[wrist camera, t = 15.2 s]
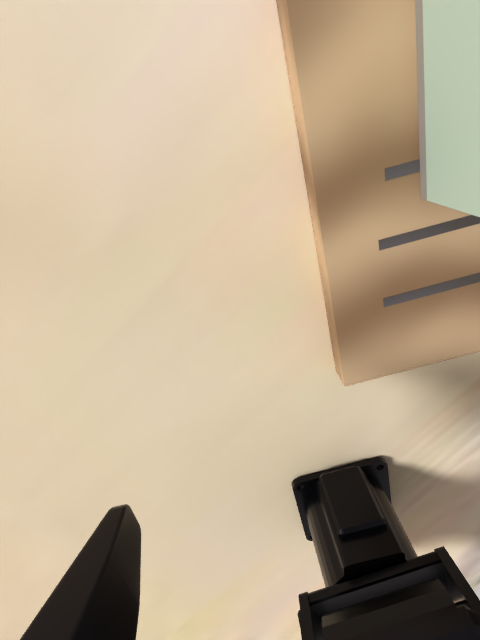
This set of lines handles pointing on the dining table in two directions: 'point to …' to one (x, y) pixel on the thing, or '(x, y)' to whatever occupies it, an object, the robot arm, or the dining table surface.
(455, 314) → the oak board
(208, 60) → the dining table surface
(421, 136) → the block
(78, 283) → the dining table surface
